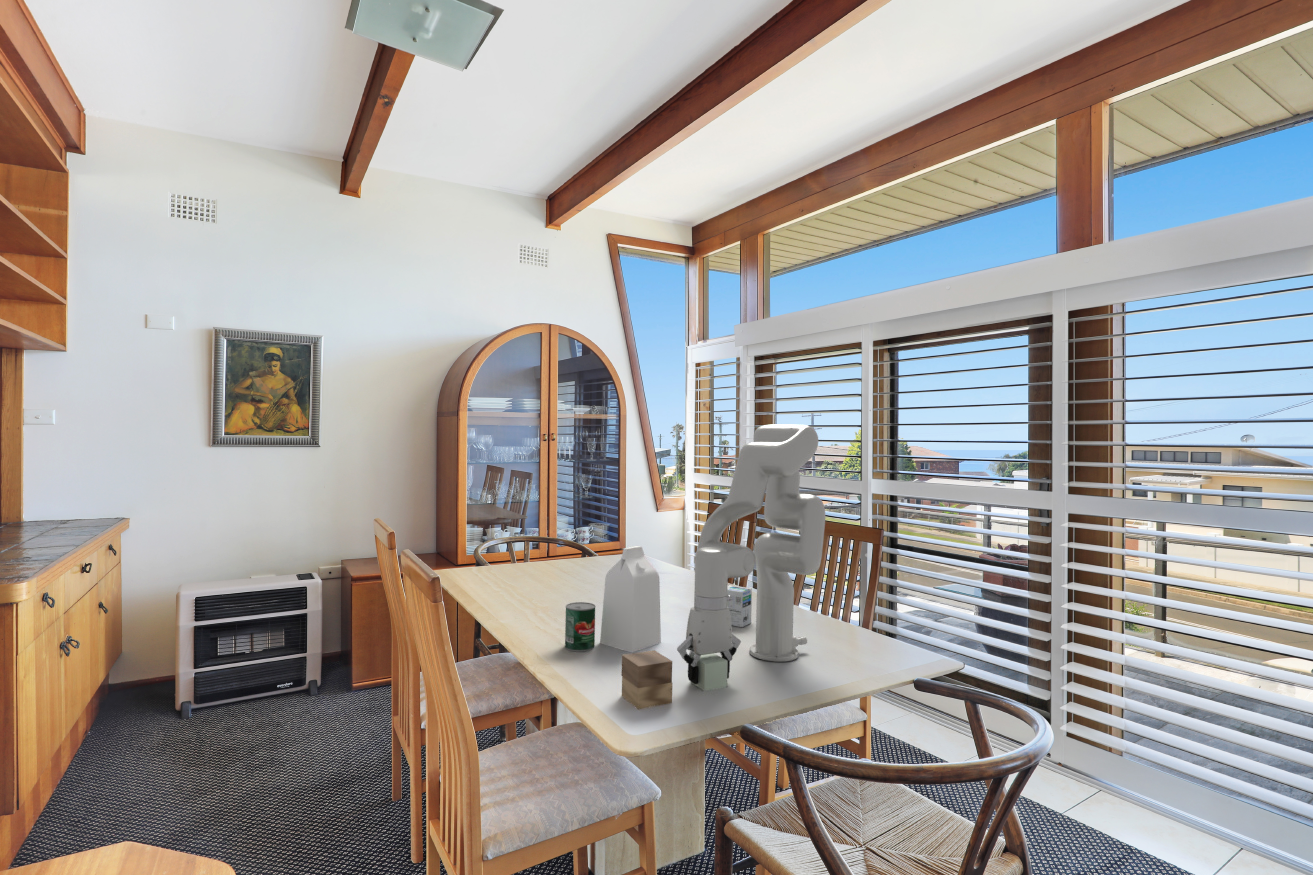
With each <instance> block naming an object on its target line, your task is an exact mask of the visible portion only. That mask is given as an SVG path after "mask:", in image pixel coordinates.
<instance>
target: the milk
mask: <svg viewBox="0 0 1313 875" xmlns="http://www.w3.org/2000/svg"><path fill="white" fill-rule="evenodd" d="M620 557H621V558H620V560H618V561H617V562H616V563H614V565H613V566H612V567H611V568H610V569H609V570H608V571H607V573H606V574H605V578H604V579H605V580H604V589H603V590H604V591H603V600H602V601H603V602H602V616H601V628H600V637H599V638H600V641H599V643H600V644H602V645H605V646H608V647H612V648H616V649H617V650H622V651H624V652H629V653H630V654H632V653H636V652H638V651H640V650H641V651H642V650H643V649H646V648H649V647H653V646H655V645H657V644H660V643H661V644H662V638H661V637H662V631H661V630H662V629H661V628H662V627H661V596H660V595H661V592H660V589H661V588H660V587H661V586H660V585H661V584H660V583H661V582H660V575H659V572H658V571H657V569H656V568H655V567H654V565H653V564H652V563H651V562H650V560H649V559H648V558H647V557H646V556H645V552H644V550H643V546H642V545H641V546H640V545H636V546H629V547H624V548H623V551H622V554H621V556H620Z"/></svg>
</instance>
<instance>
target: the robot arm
mask: <svg viewBox="0 0 1313 875" xmlns="http://www.w3.org/2000/svg"><path fill="white" fill-rule="evenodd" d="M818 446H819V436H818V433H817V431H816V429H814V428H813V427H812V426H810V425H806V424H764V425H761V426H759V427H757V428H756V429H755V431H754V433H753V442H747V443H746V444H744V445H743V446H742V447H741V449H740V451H739V454H738V458H737V461H736V466H735V470H734V473H733V476H732V480H731V485H730V488H729V493H728V495H727V498H726V499H725V500H724V501H723V503H721V504H720V505H719V506H718V507H717V508H715V509H714V511H713V513H711V514H710V516H709V517H708V518H707V520H706V521H705V522H704V525H703V527H702V530H701V533H700V537H699V541H698V544H697V548H696V552H695V558H694V590H693V591H694V595H693V596H694V597H693V600H694V601H693V602H694V603H693V607H690V610H689V614H688V618H687V625H686V634H685V639H684V641H683V642H682V643H681V644H679V645H678V646H677V648H676V650H677V652H678V654H679V655H680V656H681V658H682V660H684V661H685V663H686V664H687V679H688V681H689V682H690V683H691V682H692V683H691V684H693V683H694V684H698V674H699V667H698V666H696V665H697V663H698V661H699V659H700V656H701V655H706V654H713V653H714V654H717V653H720V657H722V658H723V659H725V660H727V661H728V668H727V680H728V679H730V672H731V670H730V669H731V668H730V667H731V665H730V664H731V661H732V660H733V657H734V655H735V654H736V653H737V649H738V648H739V646H740V645H741V643H742V641H741V640H740V639H739V638H738V637H737V636H736V635H734V634H733V630H732V628H733V627H732V626H733V625H731V616H730V611H729V608H728V607H727V602H728V601H731V596H730V595H728V594H727V586H728V585H729V584H728V583H729V582H728V581H729V579H730V578H734V579H735V578H737V579H738V578H744V577H747V576H749V575H750V574H751V573H752V572H753V571H754V569H755V568H756V614H755V615H756V616H755V617H756V619H755V622H756V623H755V644H752V645H751V646H749V654H750V655H751V656H752V657H754V658H756V659H760V660H761V661H767V662H777V663H778V662H780V663H781V662H790V661H794V660H796V659H797V658H798V657H799V653H800V652H799V650H798V649H797V647H799V646H802V645H806V644H807V643H808V638H807V637H806V636H801V637H797V636H796V635H794V603H795V602H794V600H795V589H794V584H793V581H792V579H791V576H790V575H789V574H790V573H791V574H796V575H803V576H811V575H814V574H816V573H817V572H818V570H819V569H820V566H821V562H822V559H823V547H824V539H825V538H824V537H825V527H826V508H825V505H824V502H823V501H822V499H821V498H820V497H819V496H817V495H814V494H809V493H800V486H801V485H800V484H801V483H800V482H801V473H800V471H799V470H800V469H801V468H802V467H803V466H804V465H805V464H807V462H809V461H810V460H811V459H812V458H813V456H814V455H815V453H816V452H817V450H818ZM764 499H765V500H764ZM763 504H764V509H763V510H764V511H763V515H764V517H763V518H764V521H765V522H766V524H767V525H768V526H770V527H772V528H777V529H784V530H790V531H791V530H792V531H798V532H799V535H794V534H789V533H788V534H786V533H778V532H767V533H763V534H761V535H759V536H758V538H757V539H756V540H755V542H754V546H753V550H752V549H751V548H750V547H748V546H746V545H744V544H743V545H742V544H736V543H730V542H723V541H720V540H721V537H722V535H723V534H724V532H725V530H726V529H727V528H728V526H730V525H731V524H733V523H734V522H735V521H737V520H740V519H742V518H744V517H746V516H748V515H752V514H753V513H756V512H758V511H760V510H761V509H762V507H763ZM687 650H688V651H689V653H688V652H687ZM693 657H694V658H693ZM694 684H693V685H694Z"/></svg>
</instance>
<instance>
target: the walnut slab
mask: <svg viewBox="0 0 1313 875" xmlns="http://www.w3.org/2000/svg"><path fill="white" fill-rule="evenodd" d="M620 673H621V674H620V675H621V678H622V677H624V678H625V679H626V680H628V681H629V682H630V683H632V684H633V685H634V686H636V687H637V688H643V687H649V686H654V685H660V684H666V683H672V684H673V660H671V659H670V658H668V657H666V656H664V655H663V654H661V653H659V652H658V651H656V650H648V651H641V652H632V653H626V654H622V655H621V672H620Z"/></svg>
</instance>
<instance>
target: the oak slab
mask: <svg viewBox="0 0 1313 875" xmlns="http://www.w3.org/2000/svg"><path fill="white" fill-rule="evenodd" d="M621 697H622V698H624V699H625V700H626V701H627V702H629V704H631V705H632V706H633V707H634V708H635V709H636V710H643V709H649V708H653V707H659V706H665V705H669V704H672V703H673V682H672V683H666V684H660V685H654V686H649V687H643V688H637V687H636V686H634V685H633V684H632V683H630V682H629V681H628V680H626V679H625V678H624V677H622V676H621Z"/></svg>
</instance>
